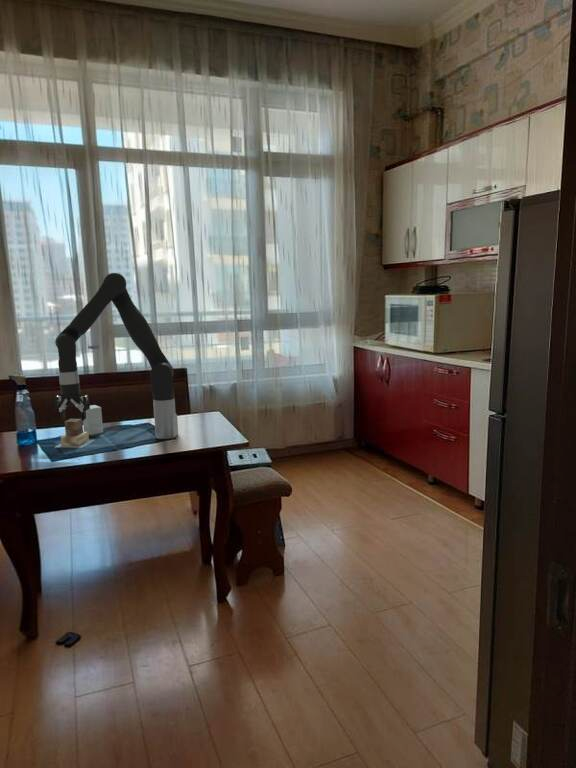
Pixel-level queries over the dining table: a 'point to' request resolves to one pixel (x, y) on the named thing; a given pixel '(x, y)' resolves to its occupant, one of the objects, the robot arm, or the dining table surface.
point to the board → (77, 446)
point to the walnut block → (73, 427)
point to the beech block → (74, 439)
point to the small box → (93, 420)
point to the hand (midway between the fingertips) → (73, 420)
